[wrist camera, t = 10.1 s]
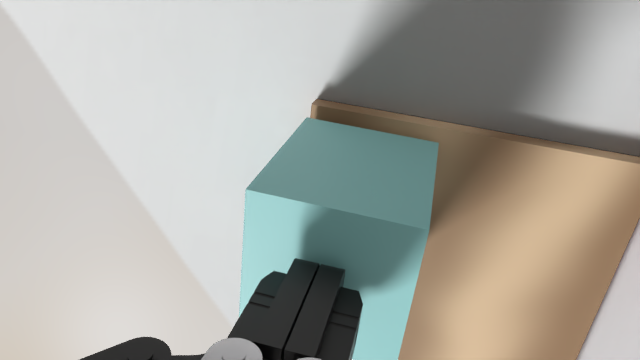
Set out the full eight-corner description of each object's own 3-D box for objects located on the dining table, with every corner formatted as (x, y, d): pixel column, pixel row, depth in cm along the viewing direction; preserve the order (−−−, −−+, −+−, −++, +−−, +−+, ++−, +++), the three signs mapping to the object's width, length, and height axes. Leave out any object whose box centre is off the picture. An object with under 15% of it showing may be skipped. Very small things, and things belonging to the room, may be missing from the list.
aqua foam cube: (438, 142, 20) (429, 229, 14) (412, 255, 22) (395, 370, 16) (306, 117, 20) (245, 189, 15) (295, 228, 23) (238, 328, 17)
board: (654, 159, 19) (661, 168, 18) (554, 388, 25) (557, 401, 24) (316, 98, 21) (311, 104, 21) (292, 320, 27) (288, 331, 26)
